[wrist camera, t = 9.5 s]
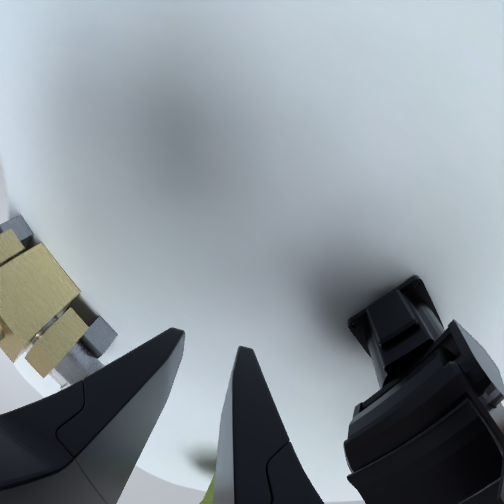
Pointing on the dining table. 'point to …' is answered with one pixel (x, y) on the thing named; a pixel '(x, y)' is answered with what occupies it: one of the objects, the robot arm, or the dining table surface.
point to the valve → (44, 310)
